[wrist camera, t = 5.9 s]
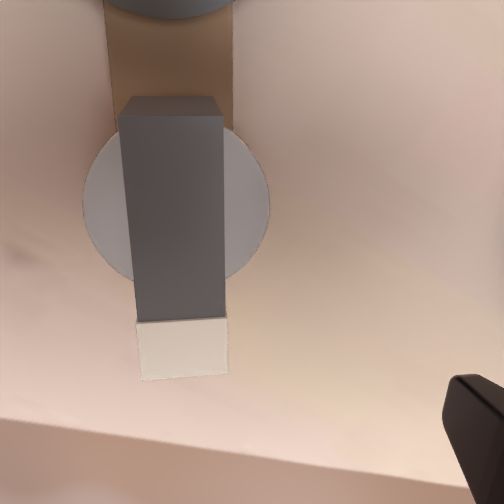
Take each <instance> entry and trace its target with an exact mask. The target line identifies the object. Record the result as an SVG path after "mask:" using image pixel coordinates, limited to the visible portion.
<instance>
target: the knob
mask: <svg viewBox="0 0 504 504" xmlns="http://www.w3.org/2000/svg"><path fill="white" fill-rule="evenodd" d="M118 127H119V131H117V132H116V133H115V134H114V135H113V136H112V137H111V138H110V139H109V140H108V141H107V143H106V144H105V145H104V146H103V148H102V149H101V150H100V152H99V153H98V155H97V156H96V158H95V160H94V162H93V163H92V165H91V167H90V170H89V172H88V175H87V177H86V181H85V185H84V190H83V215H84V220H85V224H86V227H87V230H88V233H89V236H90V238H91V240H92V242H93V244H94V245H95V247H96V249H97V250H98V251H99V253H100V254H101V256H102V257H103V258H104V259H105V260H106V261H107V262H108V263H109V264H110V265H111V266H112V267H113V268H114V269H115V270H117V271H118V272H119V273H121V274H122V275H124V276H125V277H127V278H128V279H130V280H132V281H134V288H135V298H136V308H137V320H136V331H137V341H138V351H139V361H140V370H141V380H142V381H144V380H157V379H170V378H183V377H196V376H208V375H221V374H228V322H227V313H226V307H225V279H226V278H228V277H230V276H231V275H233V274H234V273H236V272H237V271H238V270H239V269H240V268H241V267H243V266H244V265H245V264H246V263H247V261H248V260H249V259H250V258H251V257H252V255H253V254H254V253H255V251H256V250H257V248H258V246H259V245H260V243H261V241H262V239H263V236H264V234H265V231H266V228H267V224H268V219H269V210H270V201H269V192H268V186H267V183H266V179H265V176H264V174H263V171H262V169H261V167H260V165H259V163H258V162H257V160H256V158H255V157H254V155H253V154H252V152H251V151H250V149H249V148H248V146H247V145H246V144H245V143H244V142H243V141H242V139H241V138H240V137H238V136H237V135H236V134H235V133H234V132H233V131H232V130H230V129H229V128H227V127H226V126H224V121H223V114H222V112H221V110H220V109H219V107H218V105H217V103H216V101H215V99H214V98H213V96H132V97H131V99H130V100H129V102H128V103H127V104H126V106H125V107H124V108H123V110H122V111H121V112H120V114H119V115H118Z"/></svg>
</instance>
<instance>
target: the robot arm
mask: <svg viewBox="0 0 504 504" xmlns="http://www.w3.org/2000/svg"><path fill="white" fill-rule="evenodd" d="M442 421H443V425H444V428H445V431H446V433H447V436H448V438H449V440H450V443H451V445H452V448H453V450H454V452H455V455H456V457H457V459H458V462H459V464H460V467H461V469H462V471H463V474H464V476H465V478H466V481H467V483H468V486H469V488H470V490H471V493H472V495H473V497H474V500H475V502H476V504H504V388H502V387H501V386H499V385H497V384H495V383H493V382H491V381H489V380H488V379H486V378H484V377H482V376H480V375H477V374H465V375H456V376H453V377H452V378H451V380H450V382H449V385H448V390H447V394H446V398H445V402H444V407H443V411H442Z"/></svg>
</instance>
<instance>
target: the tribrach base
mask: <svg viewBox="0 0 504 504" xmlns="http://www.w3.org/2000/svg"><path fill="white" fill-rule="evenodd" d="M233 1H235V0H103V6H104V16H105V26H106V35H107V45H108V55H109V65H110V75H111V85H112V95H113V104H114V114H115V124H116V132H117V131H119V127H118V115H119V114H120V112H121V111H122V110H123V108H124V107H125V106H126V104H127V103H128V102H129V100H130V99H131V97H132V96H213V98H214V99H215V101H216V103H217V105H218V107H219V109H220V110H221V112H222V114H223V121H224V126H226V127H227V128H229V129H230V130H232V131H233V100H232V2H233Z"/></svg>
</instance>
